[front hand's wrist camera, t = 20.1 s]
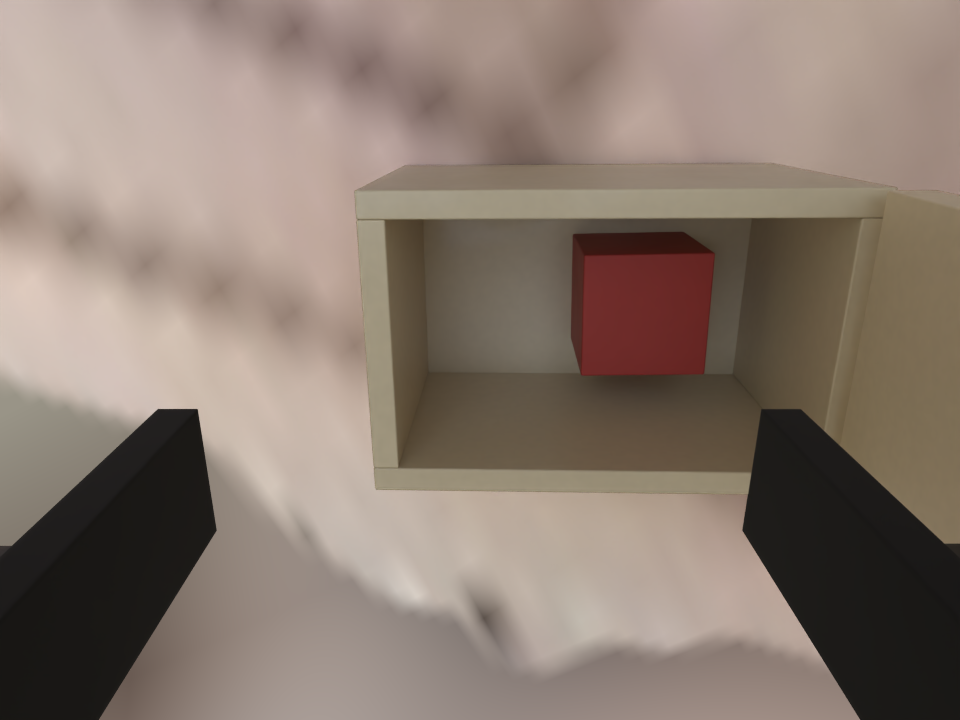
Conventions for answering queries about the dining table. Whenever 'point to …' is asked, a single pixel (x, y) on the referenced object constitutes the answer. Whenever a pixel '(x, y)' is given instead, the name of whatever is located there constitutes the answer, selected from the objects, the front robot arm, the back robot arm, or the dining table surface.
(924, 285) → the lid
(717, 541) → the dining table surface
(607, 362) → the block
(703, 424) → the chest
